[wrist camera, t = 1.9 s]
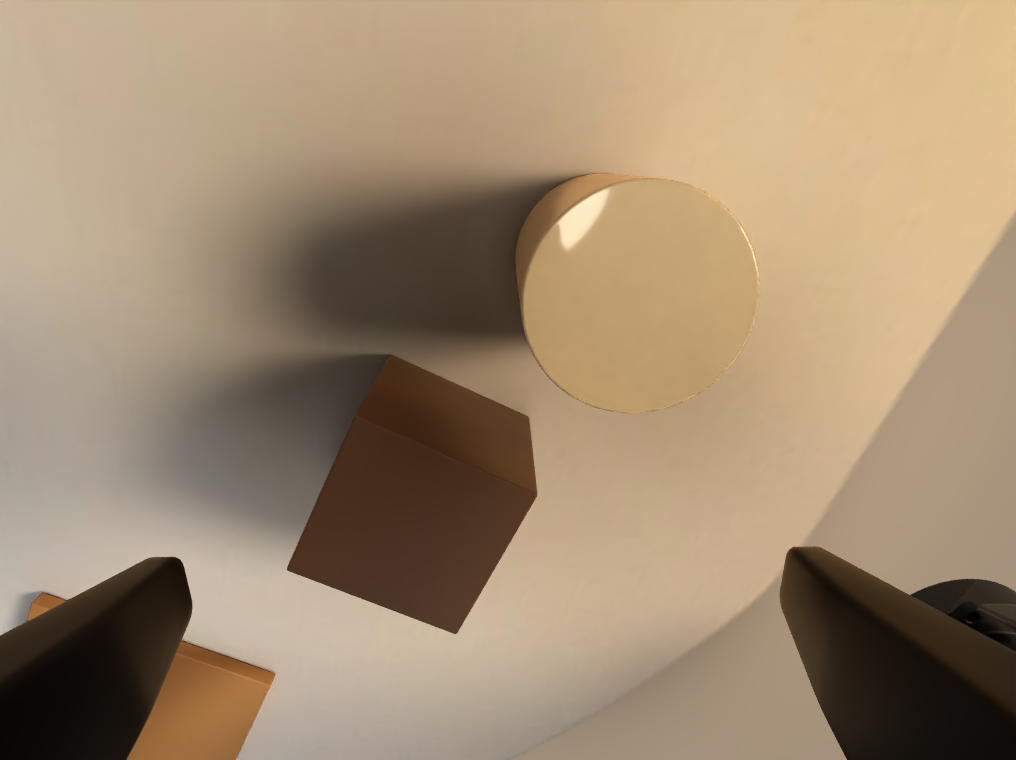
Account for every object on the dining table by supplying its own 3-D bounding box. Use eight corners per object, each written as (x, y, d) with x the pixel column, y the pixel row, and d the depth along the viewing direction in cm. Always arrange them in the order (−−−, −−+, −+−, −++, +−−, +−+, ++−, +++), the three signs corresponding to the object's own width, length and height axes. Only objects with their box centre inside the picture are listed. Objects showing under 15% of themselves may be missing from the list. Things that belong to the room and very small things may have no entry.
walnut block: (529, 416, 20) (538, 495, 15) (466, 531, 21) (456, 635, 17) (390, 353, 19) (353, 415, 14) (334, 477, 21) (285, 570, 16)
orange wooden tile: (275, 673, 23) (270, 685, 23) (225, 780, 25) (219, 794, 25) (42, 591, 22) (30, 603, 21) (9, 712, 24) (-3, 725, 23)
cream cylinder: (711, 221, 18) (809, 249, 12) (627, 364, 19) (678, 448, 14) (563, 142, 17) (593, 130, 11) (487, 297, 18) (481, 356, 13)
